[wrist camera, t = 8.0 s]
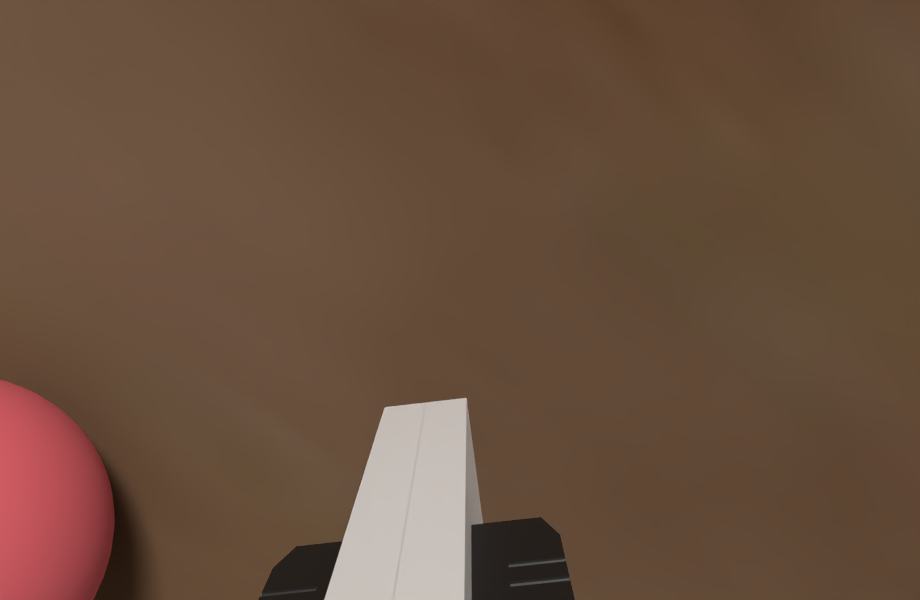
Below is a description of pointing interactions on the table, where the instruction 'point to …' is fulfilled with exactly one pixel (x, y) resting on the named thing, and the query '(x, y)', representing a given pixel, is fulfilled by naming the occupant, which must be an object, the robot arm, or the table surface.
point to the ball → (50, 503)
